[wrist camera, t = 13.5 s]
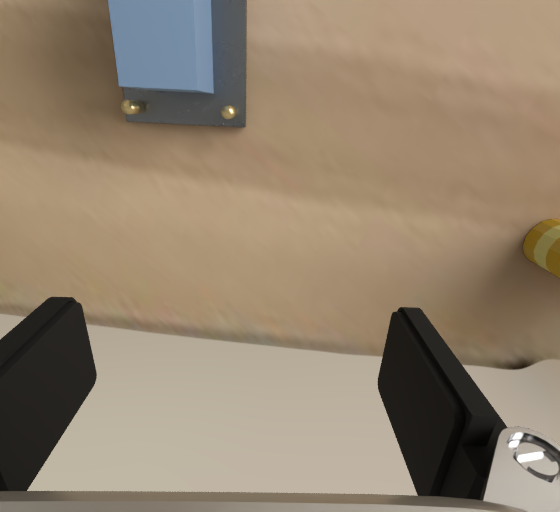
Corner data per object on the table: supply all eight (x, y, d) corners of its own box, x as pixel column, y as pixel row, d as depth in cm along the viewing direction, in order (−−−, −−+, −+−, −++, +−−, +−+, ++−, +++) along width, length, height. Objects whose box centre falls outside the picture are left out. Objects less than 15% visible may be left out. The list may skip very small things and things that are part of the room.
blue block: (137, -68, 29) (91, -127, 21) (209, -63, 29) (187, -119, 22) (152, 90, 34) (119, 86, 26) (213, 93, 34) (197, 90, 27)
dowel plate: (131, 120, 36) (114, 122, 32) (103, -110, 29) (77, -144, 25) (245, 126, 36) (242, 129, 32) (247, -99, 29) (243, -131, 25)
